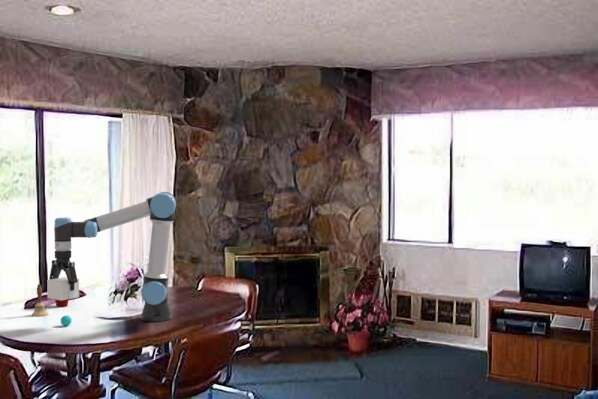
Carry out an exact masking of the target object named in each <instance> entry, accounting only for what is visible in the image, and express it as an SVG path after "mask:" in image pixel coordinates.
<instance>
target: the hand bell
mask: <svg viewBox="0 0 598 399" xmlns="http://www.w3.org/2000/svg"><path fill="white" fill-rule="evenodd" d="M36 294H37V304H35V306H34V310H33V311H32V314H31V316H32V317H34V316H35V317H39V318H41V317H46V316H48V315H49V312H48V311H47V310H46V307H45V304H44V303H43V302H42V294H43V288H42V284H40V283H39V284H37V287H36Z"/></svg>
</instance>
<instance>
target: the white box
mask: <svg viewBox="0 0 598 399" xmlns="http://www.w3.org/2000/svg"><path fill="white" fill-rule="evenodd" d="M77 280H78V282H76V283H75V284H74V297H71V298H68V283H69V281H68V278H67V276H63V277H58V278H56V279H49V278H48V279H47V280H46V281H47V282H46V283H47V285H46V286H47V289H46V290H47V292H46V293H47V299H51V300H55V299H56V300H67V299H69V300H70V299H71V300H72V299H76V298H80V279H79V278H77ZM71 281H72V280H71Z"/></svg>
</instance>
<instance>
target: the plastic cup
mask: <svg viewBox="0 0 598 399" xmlns="http://www.w3.org/2000/svg"><path fill="white" fill-rule="evenodd" d="M54 300H55V301H54V302H55V306H56V307H57V308H65V307H68V304H69V300H70V299H67V300H56V299H54Z"/></svg>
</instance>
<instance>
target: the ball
mask: <svg viewBox="0 0 598 399" xmlns="http://www.w3.org/2000/svg"><path fill="white" fill-rule="evenodd" d="M60 323H61V325H62V326H64V327H68V326H70V325H71V323H72V317H71V316H69V315H63V316H62V317H61V318H60Z"/></svg>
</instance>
